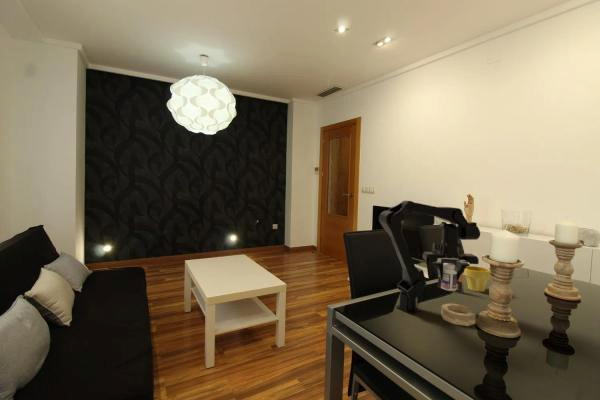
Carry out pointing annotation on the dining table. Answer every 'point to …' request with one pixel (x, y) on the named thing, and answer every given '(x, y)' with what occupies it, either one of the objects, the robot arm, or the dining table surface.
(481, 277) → the plant pot
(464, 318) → the beige ring washer
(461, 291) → the ammunition clip
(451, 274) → the pill bottle
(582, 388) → the dining table surface
